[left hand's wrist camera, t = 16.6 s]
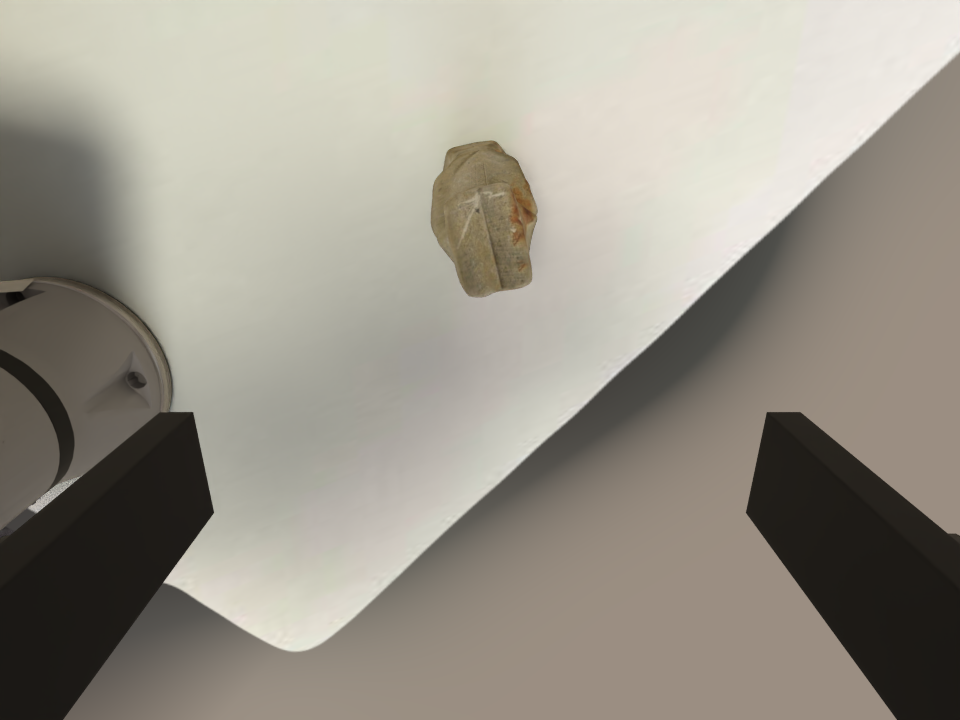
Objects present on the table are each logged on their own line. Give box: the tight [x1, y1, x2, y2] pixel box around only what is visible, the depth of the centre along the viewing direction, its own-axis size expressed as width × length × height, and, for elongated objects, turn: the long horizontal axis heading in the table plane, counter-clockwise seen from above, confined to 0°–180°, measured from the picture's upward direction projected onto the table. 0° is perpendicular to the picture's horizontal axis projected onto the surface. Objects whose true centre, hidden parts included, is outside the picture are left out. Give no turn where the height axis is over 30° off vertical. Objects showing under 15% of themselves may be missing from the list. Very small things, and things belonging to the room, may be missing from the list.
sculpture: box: [431, 141, 538, 297], centre depth 31 cm, size 6×7×15 cm
